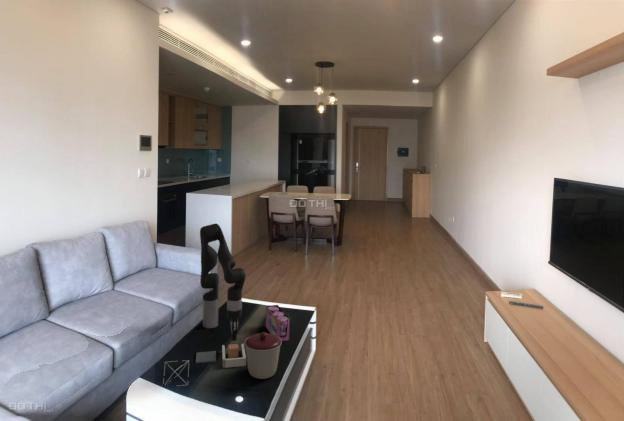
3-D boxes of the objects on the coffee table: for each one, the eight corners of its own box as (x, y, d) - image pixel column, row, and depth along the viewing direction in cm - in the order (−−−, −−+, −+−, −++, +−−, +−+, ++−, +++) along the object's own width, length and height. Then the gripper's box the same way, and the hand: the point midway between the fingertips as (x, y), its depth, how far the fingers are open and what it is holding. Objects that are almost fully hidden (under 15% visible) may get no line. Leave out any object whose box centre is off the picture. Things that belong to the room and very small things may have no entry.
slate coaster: (196, 354, 213) (196, 352, 213) (215, 352, 215) (215, 351, 215) (195, 363, 203) (195, 361, 203) (216, 361, 206) (216, 360, 206)
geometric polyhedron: (167, 392, 178) (167, 373, 177) (158, 381, 186) (158, 363, 185) (194, 383, 186) (194, 364, 185) (184, 373, 194) (184, 355, 193)
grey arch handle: (222, 352, 216) (222, 345, 215) (243, 350, 218) (243, 343, 218) (222, 367, 200) (222, 360, 200) (245, 365, 203) (246, 358, 202)
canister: (265, 388, 184) (266, 344, 181) (235, 375, 193) (236, 334, 191) (288, 371, 199) (289, 330, 196) (259, 360, 209) (260, 321, 206)
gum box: (290, 341, 232) (291, 318, 230) (277, 343, 229) (277, 320, 227) (277, 325, 254) (277, 304, 252) (265, 326, 250) (265, 305, 249)
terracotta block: (228, 353, 215) (228, 344, 214) (237, 352, 216) (237, 343, 216) (228, 358, 210) (228, 349, 210) (238, 357, 211) (238, 348, 211)
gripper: (226, 303, 208) (226, 335, 210) (227, 312, 195) (227, 346, 197) (241, 302, 209) (240, 334, 212) (242, 311, 197) (242, 345, 199)
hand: (234, 340), depth 204 cm, fingers closed
